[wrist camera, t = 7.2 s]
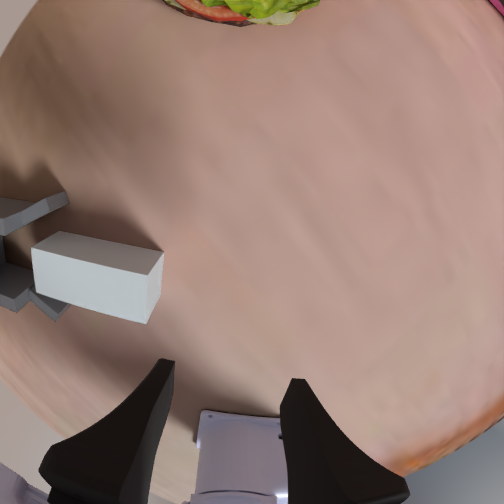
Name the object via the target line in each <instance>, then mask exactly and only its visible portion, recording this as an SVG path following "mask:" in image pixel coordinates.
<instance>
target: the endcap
mask: <svg viewBox="0 0 504 504" xmlns="http://www.w3.org/2000/svg"><path fill="white" fill-rule="evenodd" d="M67 204H69V200H68V197H67V194H66V191H64V192H61V193H58V194H55V195H52V196H49V197H46V198H44V199H42V200H41V201H39V202H37V203H35V202H29V201H23V200H17V199H11V198H4V197H0V306H3V307H5V308H7V309H9V310H11V311H14V312H16V313H17V312H18V311H20V310H21V309H22V308H23V307H24V306H25V305H26V304H27V303H28V302H29V301H32V302H33V303H34V304H35V305H36V306H37V307H38V308H39V309H41V310H42V311H43V312H44V313H45V314H47V315H48V316H49V317H50V318H51V319H53V320H54V321H55V322H56V321H57V320H58V319H59V318H60V316H61V315H62V314H63V313H64V312H65V311H66V310H67V309H68V308H69V307H70V305H71V304H70V303H67V302H63V301H60V300H57V299H54V298H51V297H48V296H45V295H42V294H39V293H36V287H35V280H34V272H33V271H32V270H29V269H26V268H22V267H19V266H16V265H13V264H10V263H7V262H6V260H5V251H4V242H3V236H6V235H8V234H10V233H11V232H13V231H15V230H17V229H19V228H21V227H23V226H25V225H27V224H29V223H32V222H34V221H36V220H38V219H40V218H41V217H43V216H45V215H47V214H49V213H51V212H53V211H55V210H57V209H59V208H61V207H63V206H65V205H67Z"/></svg>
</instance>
